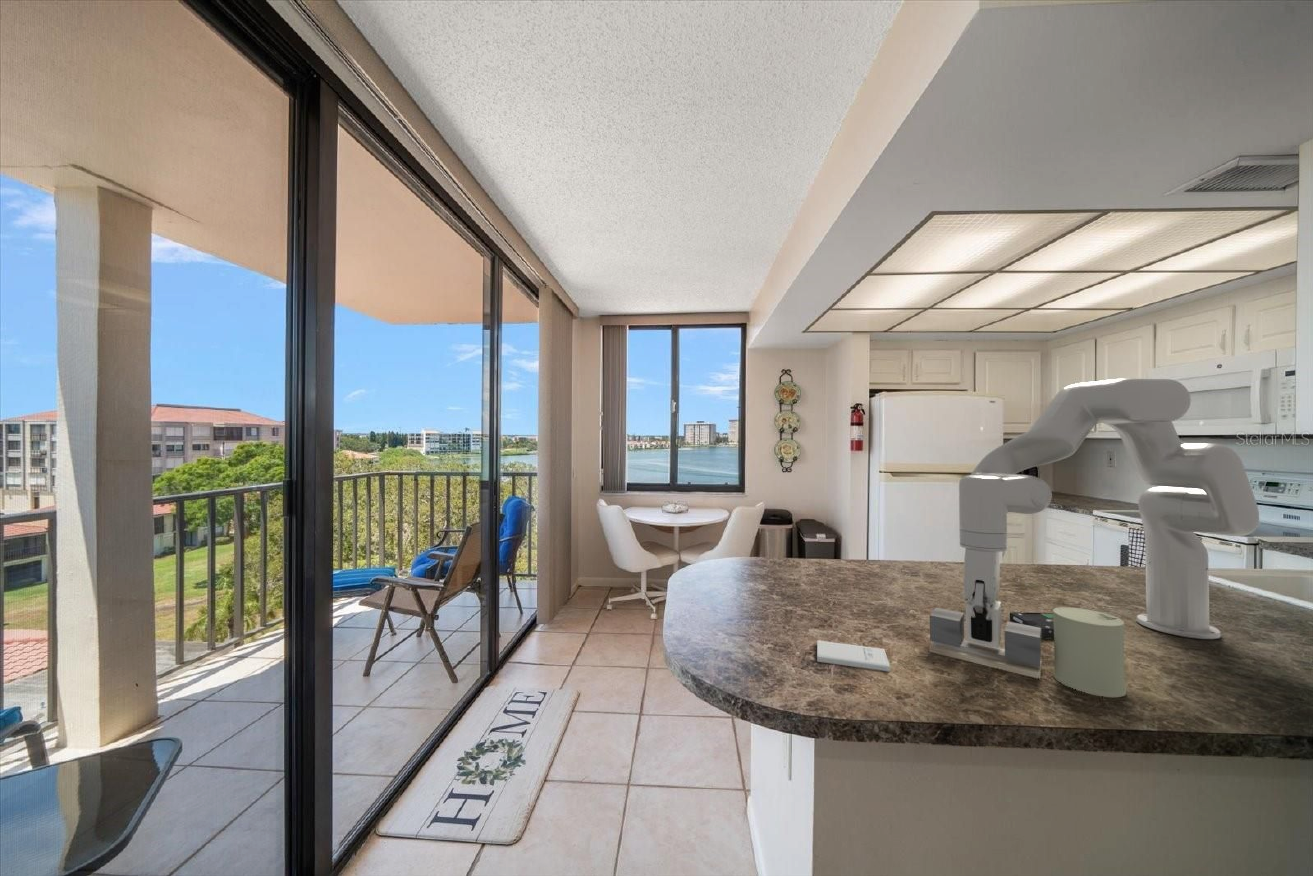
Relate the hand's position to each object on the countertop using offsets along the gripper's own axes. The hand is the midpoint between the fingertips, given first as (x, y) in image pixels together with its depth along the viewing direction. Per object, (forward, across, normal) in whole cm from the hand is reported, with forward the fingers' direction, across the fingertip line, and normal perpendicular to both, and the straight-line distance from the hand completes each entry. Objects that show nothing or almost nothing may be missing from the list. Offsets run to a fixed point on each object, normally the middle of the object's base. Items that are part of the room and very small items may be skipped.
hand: (983, 633), depth 91 cm
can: (+5, 0, +15) cm, 16 cm away
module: (+1, 0, 0) cm, 1 cm away
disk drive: (+5, -28, +11) cm, 30 cm away
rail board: (+5, 0, 0) cm, 5 cm away
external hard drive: (+5, +16, -20) cm, 26 cm away
